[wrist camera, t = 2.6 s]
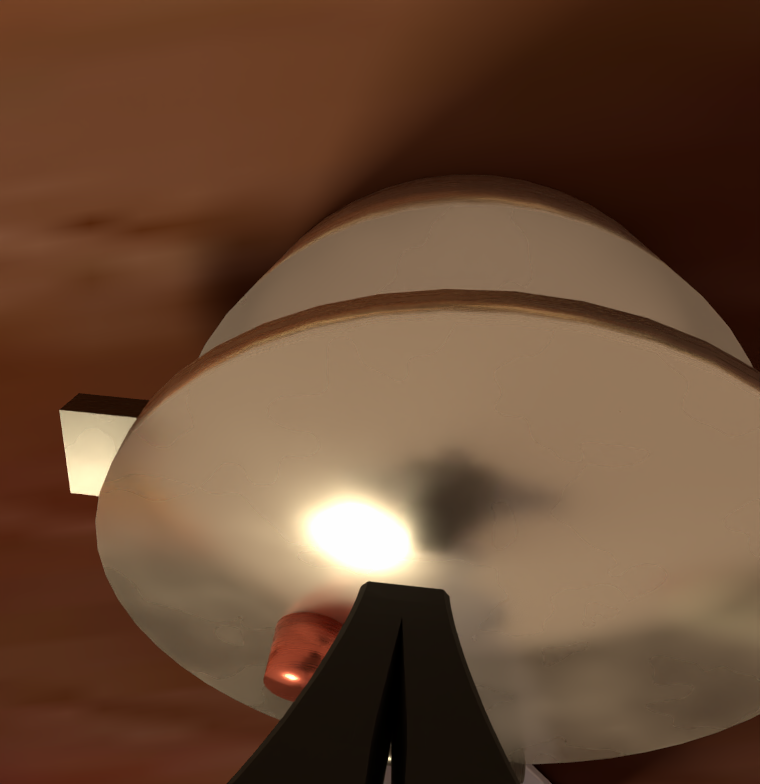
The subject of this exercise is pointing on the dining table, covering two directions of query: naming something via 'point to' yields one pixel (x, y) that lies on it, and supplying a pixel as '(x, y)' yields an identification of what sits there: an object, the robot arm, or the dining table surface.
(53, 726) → the dining table surface
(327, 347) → the cooker lid
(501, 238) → the cooker pot
